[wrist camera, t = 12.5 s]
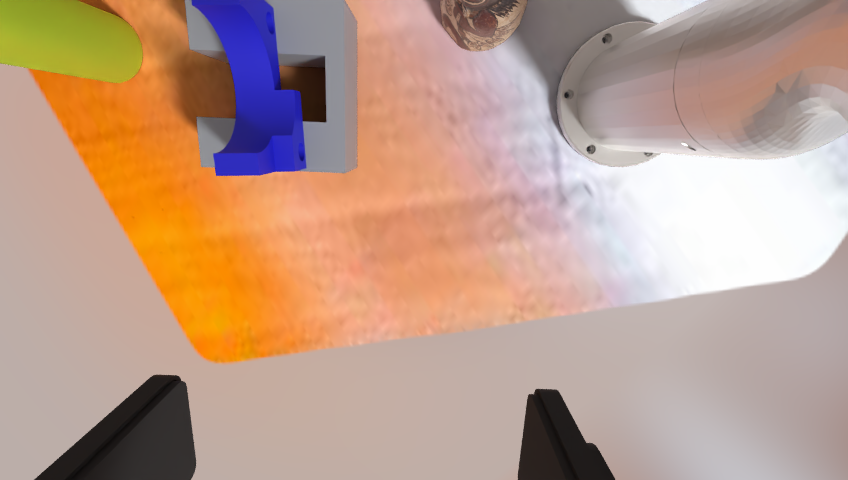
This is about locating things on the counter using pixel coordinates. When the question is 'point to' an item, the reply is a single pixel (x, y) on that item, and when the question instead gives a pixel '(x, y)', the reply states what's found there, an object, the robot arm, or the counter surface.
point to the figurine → (481, 21)
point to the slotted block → (304, 47)
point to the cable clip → (256, 92)
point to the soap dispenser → (68, 39)
